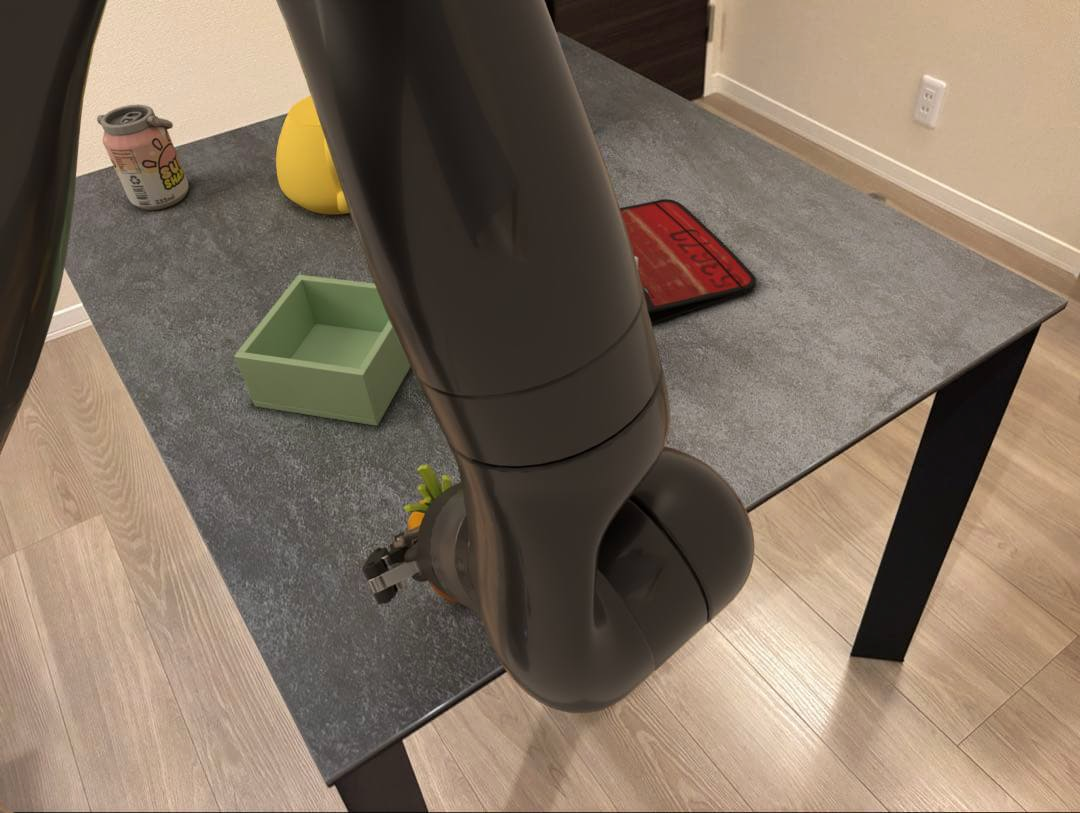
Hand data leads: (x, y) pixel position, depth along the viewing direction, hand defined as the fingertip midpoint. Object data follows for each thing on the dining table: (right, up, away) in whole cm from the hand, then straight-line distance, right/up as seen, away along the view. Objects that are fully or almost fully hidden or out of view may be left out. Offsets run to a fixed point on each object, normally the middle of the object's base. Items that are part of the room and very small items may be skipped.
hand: (436, 531), depth 62 cm
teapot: (-19, +41, +54) cm, 70 cm away
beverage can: (-45, +39, +54) cm, 81 cm away
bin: (-13, +13, +25) cm, 31 cm away
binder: (+22, +26, +36) cm, 49 cm away
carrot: (+1, -6, +4) cm, 8 cm away
